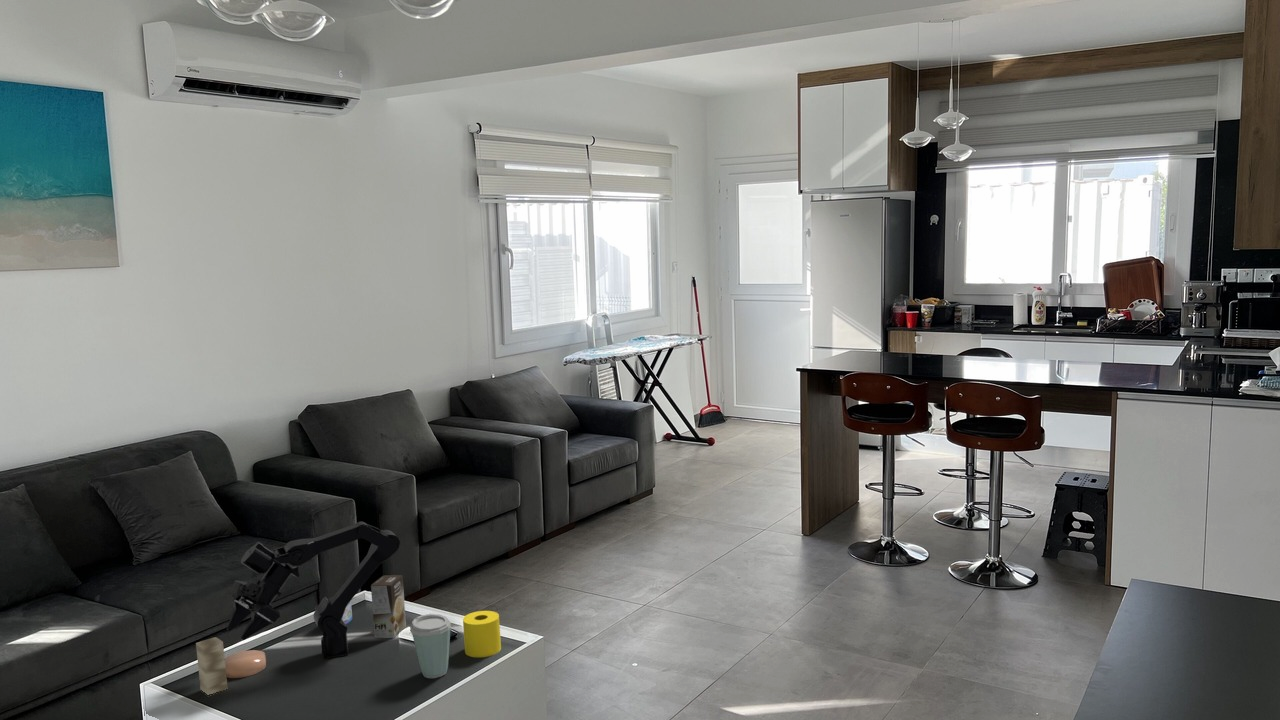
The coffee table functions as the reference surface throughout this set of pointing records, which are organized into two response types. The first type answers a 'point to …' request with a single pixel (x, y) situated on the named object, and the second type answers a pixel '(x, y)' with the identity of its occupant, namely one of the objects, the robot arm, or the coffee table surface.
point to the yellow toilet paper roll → (482, 633)
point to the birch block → (211, 665)
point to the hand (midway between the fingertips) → (235, 634)
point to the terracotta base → (245, 663)
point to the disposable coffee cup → (432, 643)
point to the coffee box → (388, 606)
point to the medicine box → (347, 614)
